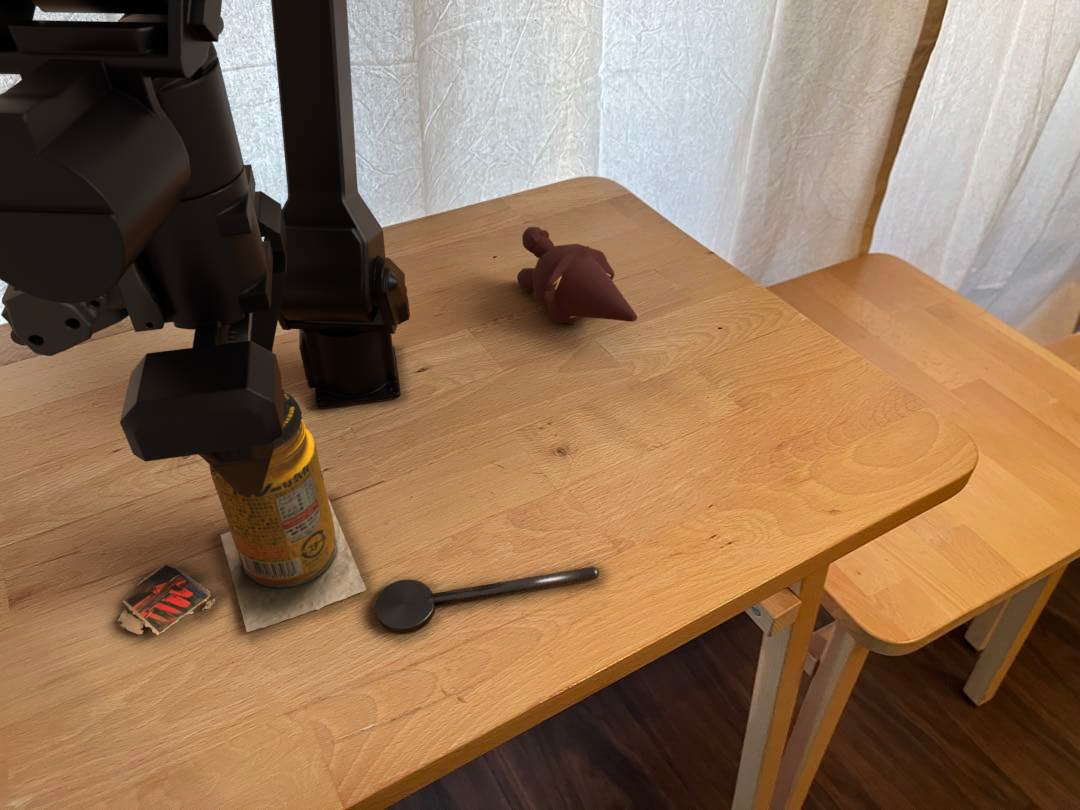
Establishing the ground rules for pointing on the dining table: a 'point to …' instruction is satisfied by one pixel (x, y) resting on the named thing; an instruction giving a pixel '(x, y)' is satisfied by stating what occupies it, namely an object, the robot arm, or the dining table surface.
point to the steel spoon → (455, 597)
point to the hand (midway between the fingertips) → (254, 433)
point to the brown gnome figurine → (572, 281)
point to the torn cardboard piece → (163, 600)
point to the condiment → (286, 535)
